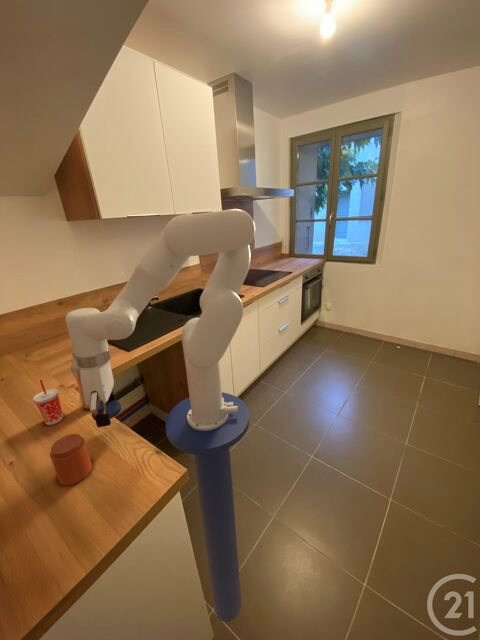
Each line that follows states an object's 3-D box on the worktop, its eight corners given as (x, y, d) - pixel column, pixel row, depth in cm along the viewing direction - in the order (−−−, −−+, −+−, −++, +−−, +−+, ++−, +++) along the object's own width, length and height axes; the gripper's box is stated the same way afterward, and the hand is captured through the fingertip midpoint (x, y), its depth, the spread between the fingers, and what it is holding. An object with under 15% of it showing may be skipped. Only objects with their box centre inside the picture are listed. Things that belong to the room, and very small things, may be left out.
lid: (86, 419, 69) (84, 414, 68) (106, 402, 75) (105, 398, 74) (107, 423, 67) (106, 419, 66) (126, 406, 73) (125, 402, 72)
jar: (97, 459, 65) (89, 431, 62) (83, 484, 59) (73, 454, 56) (69, 461, 65) (60, 433, 62) (52, 486, 58) (40, 456, 56)
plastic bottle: (80, 405, 86) (64, 350, 80) (102, 396, 90) (88, 343, 84) (84, 414, 82) (67, 357, 75) (107, 405, 86) (93, 349, 79)
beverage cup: (37, 426, 78) (21, 385, 73) (53, 412, 83) (40, 374, 79) (55, 427, 77) (41, 386, 72) (70, 413, 82) (58, 374, 78)
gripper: (88, 345, 73) (101, 399, 78) (63, 377, 57) (82, 442, 62) (116, 342, 74) (127, 395, 80) (100, 372, 58) (115, 436, 64)
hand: (107, 415), depth 71 cm, fingers closed on lid, 7 cm apart
